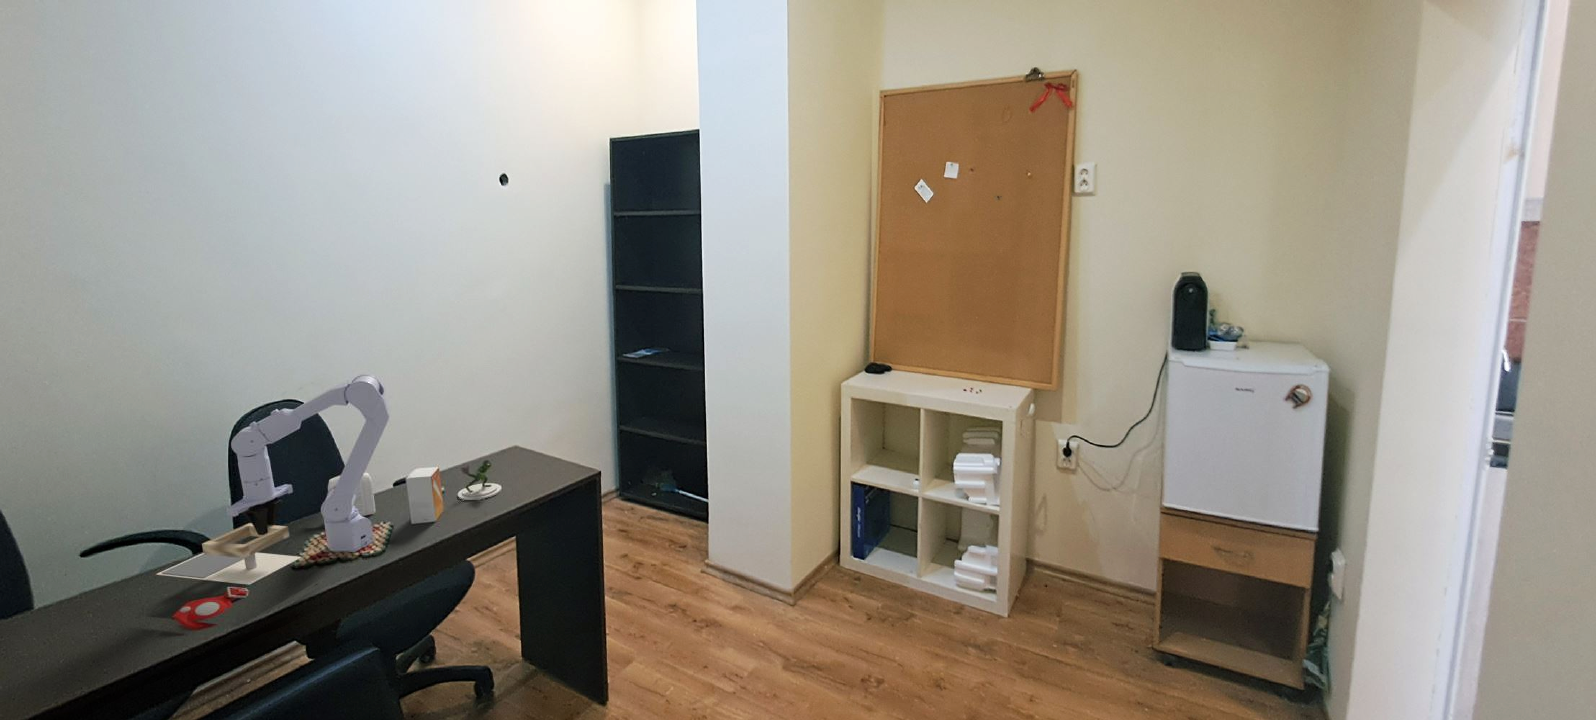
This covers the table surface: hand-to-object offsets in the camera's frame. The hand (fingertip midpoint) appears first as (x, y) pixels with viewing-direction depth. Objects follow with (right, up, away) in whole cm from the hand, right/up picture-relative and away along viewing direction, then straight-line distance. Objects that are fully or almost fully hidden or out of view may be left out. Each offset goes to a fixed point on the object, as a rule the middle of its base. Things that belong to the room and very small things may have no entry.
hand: (266, 532), depth 163 cm
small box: (+24, -3, +27) cm, 36 cm away
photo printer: (+3, -3, +28) cm, 29 cm away
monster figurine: (+30, +1, +44) cm, 53 cm away
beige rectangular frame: (-1, -2, -5) cm, 5 cm away
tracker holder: (+5, -13, -20) cm, 24 cm away
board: (-7, -9, -2) cm, 11 cm away
